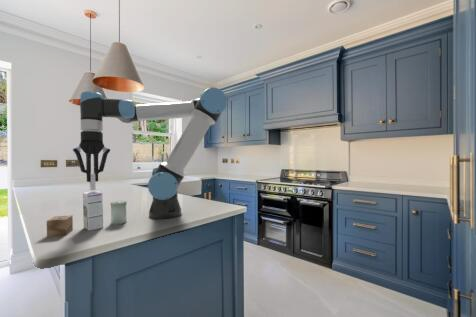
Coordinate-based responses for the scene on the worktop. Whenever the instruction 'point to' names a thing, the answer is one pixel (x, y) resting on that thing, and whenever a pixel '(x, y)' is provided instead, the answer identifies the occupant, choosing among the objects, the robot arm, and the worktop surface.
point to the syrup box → (93, 210)
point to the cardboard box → (59, 226)
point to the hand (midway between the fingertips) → (92, 189)
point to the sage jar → (118, 212)
